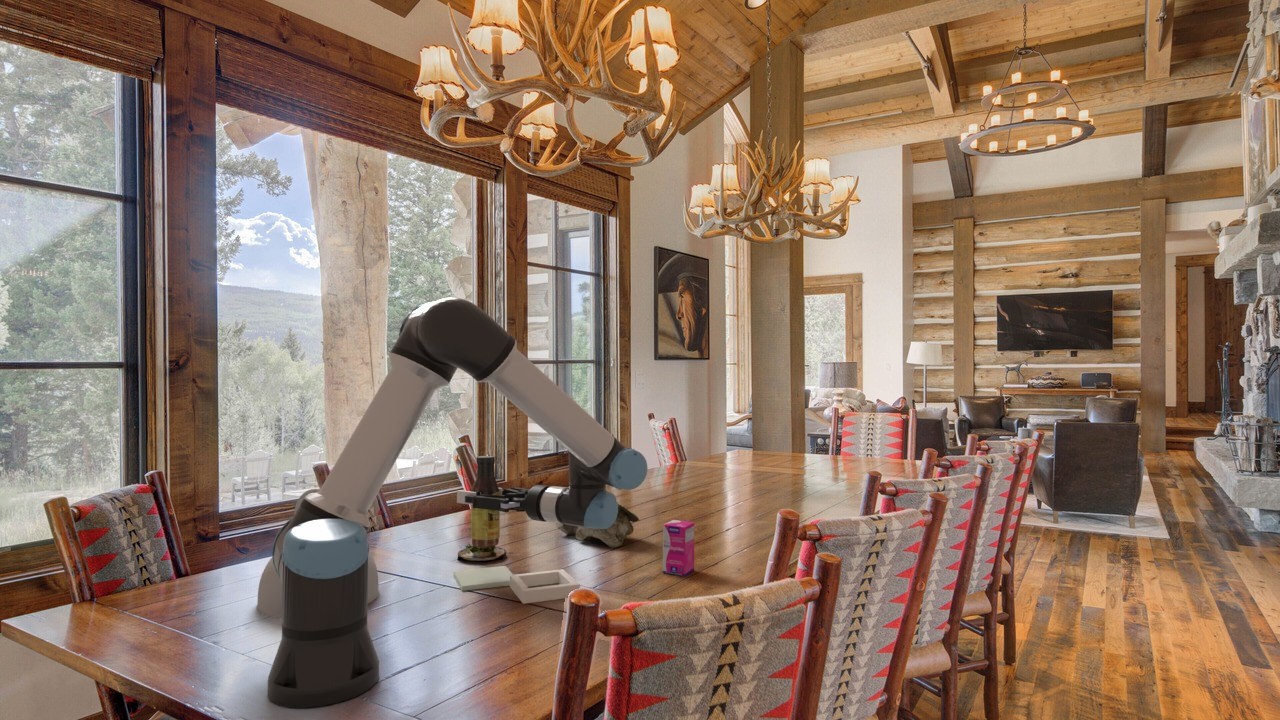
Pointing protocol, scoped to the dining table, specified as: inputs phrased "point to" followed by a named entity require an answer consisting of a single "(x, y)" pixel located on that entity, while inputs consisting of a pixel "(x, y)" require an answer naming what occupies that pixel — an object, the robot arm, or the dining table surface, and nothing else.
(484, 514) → the sauce bottle
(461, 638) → the dining table surface
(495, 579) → the plate
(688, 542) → the supplement box
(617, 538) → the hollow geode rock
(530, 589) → the pocket frame
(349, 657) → the robot arm
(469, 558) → the burger
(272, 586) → the kettle
